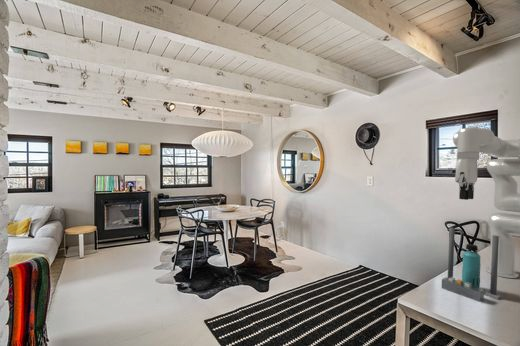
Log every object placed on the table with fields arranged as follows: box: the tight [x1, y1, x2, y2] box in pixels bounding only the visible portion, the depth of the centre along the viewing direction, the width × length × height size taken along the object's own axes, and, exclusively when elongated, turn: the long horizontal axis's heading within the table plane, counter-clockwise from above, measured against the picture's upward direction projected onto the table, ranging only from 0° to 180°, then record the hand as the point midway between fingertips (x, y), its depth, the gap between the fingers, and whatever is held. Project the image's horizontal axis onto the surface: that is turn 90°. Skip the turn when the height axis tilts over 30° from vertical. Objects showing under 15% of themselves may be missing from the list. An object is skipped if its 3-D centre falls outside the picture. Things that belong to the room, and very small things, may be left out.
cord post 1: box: [446, 227, 457, 281], centre depth 124 cm, size 4×4×26 cm
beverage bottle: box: [461, 243, 482, 288], centre depth 117 cm, size 6×7×20 cm
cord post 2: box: [484, 235, 502, 300], centre depth 111 cm, size 4×4×26 cm
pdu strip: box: [441, 276, 485, 303], centre depth 113 cm, size 4×14×5 cm, turn 32°
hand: (466, 198), depth 112 cm, fingers open, 4 cm apart
